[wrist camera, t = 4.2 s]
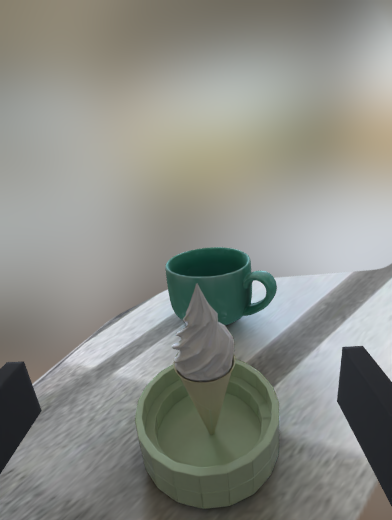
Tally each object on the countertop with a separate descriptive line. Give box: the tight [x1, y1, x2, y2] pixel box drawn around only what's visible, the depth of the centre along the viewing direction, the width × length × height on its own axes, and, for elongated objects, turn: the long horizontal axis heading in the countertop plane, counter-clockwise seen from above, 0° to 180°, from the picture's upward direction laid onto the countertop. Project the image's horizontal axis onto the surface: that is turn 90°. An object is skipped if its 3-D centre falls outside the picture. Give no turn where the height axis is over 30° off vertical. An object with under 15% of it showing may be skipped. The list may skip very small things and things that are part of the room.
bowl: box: [135, 359, 279, 509], centre depth 26 cm, size 12×12×4 cm
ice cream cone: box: [172, 283, 236, 435], centre depth 23 cm, size 5×5×15 cm
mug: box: [166, 247, 277, 325], centre depth 43 cm, size 17×13×10 cm
